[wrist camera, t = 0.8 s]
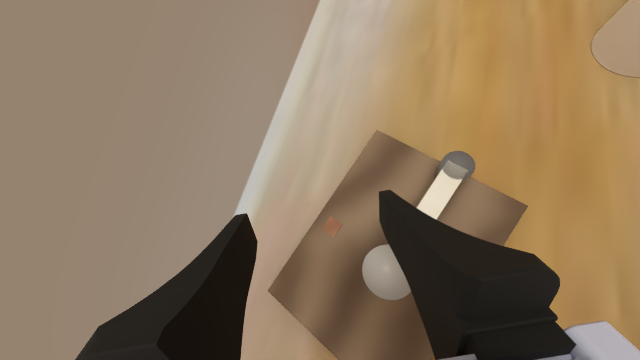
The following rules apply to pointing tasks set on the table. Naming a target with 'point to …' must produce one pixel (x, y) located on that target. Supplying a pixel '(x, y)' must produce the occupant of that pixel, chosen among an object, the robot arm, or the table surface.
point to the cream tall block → (620, 41)
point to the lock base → (364, 235)
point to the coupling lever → (452, 171)
